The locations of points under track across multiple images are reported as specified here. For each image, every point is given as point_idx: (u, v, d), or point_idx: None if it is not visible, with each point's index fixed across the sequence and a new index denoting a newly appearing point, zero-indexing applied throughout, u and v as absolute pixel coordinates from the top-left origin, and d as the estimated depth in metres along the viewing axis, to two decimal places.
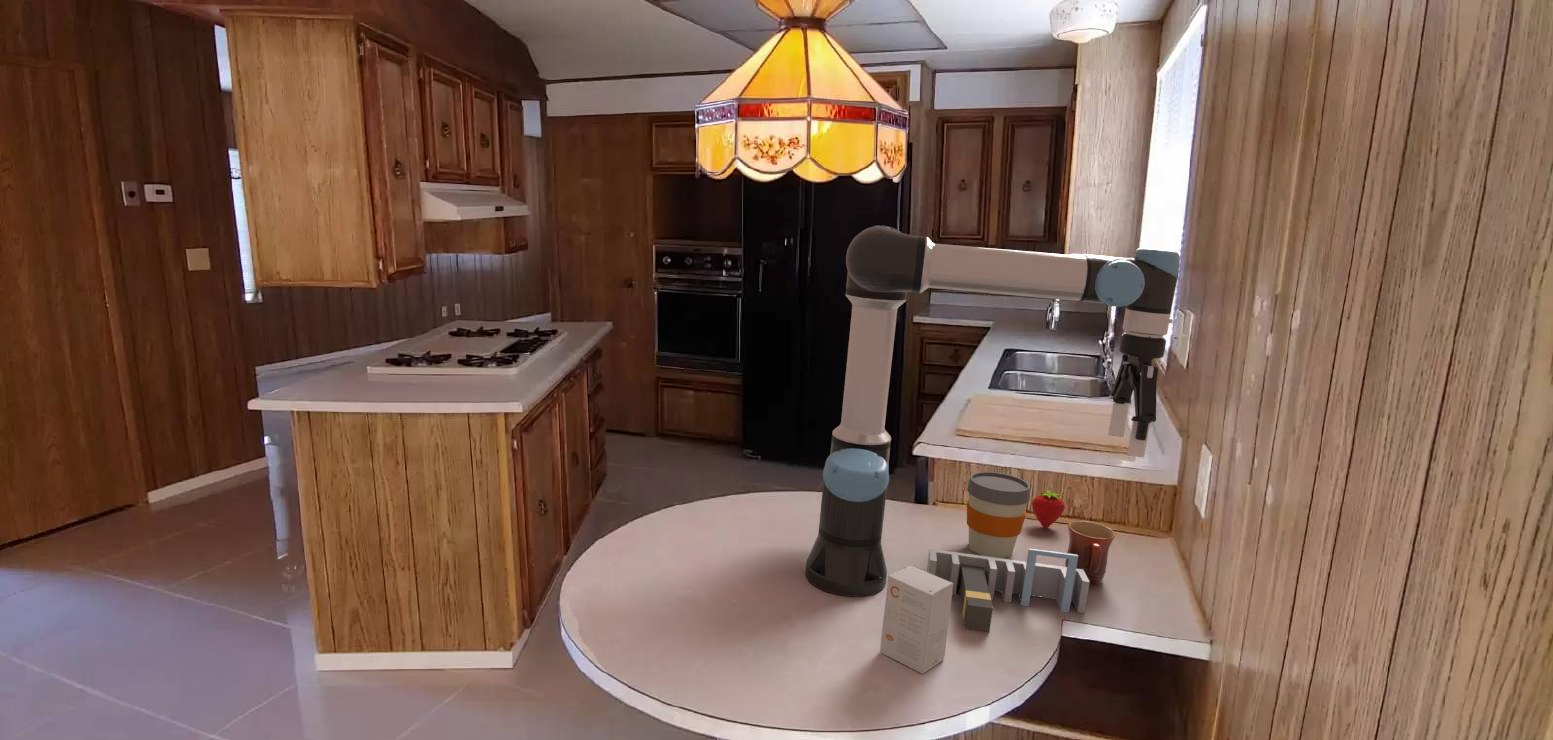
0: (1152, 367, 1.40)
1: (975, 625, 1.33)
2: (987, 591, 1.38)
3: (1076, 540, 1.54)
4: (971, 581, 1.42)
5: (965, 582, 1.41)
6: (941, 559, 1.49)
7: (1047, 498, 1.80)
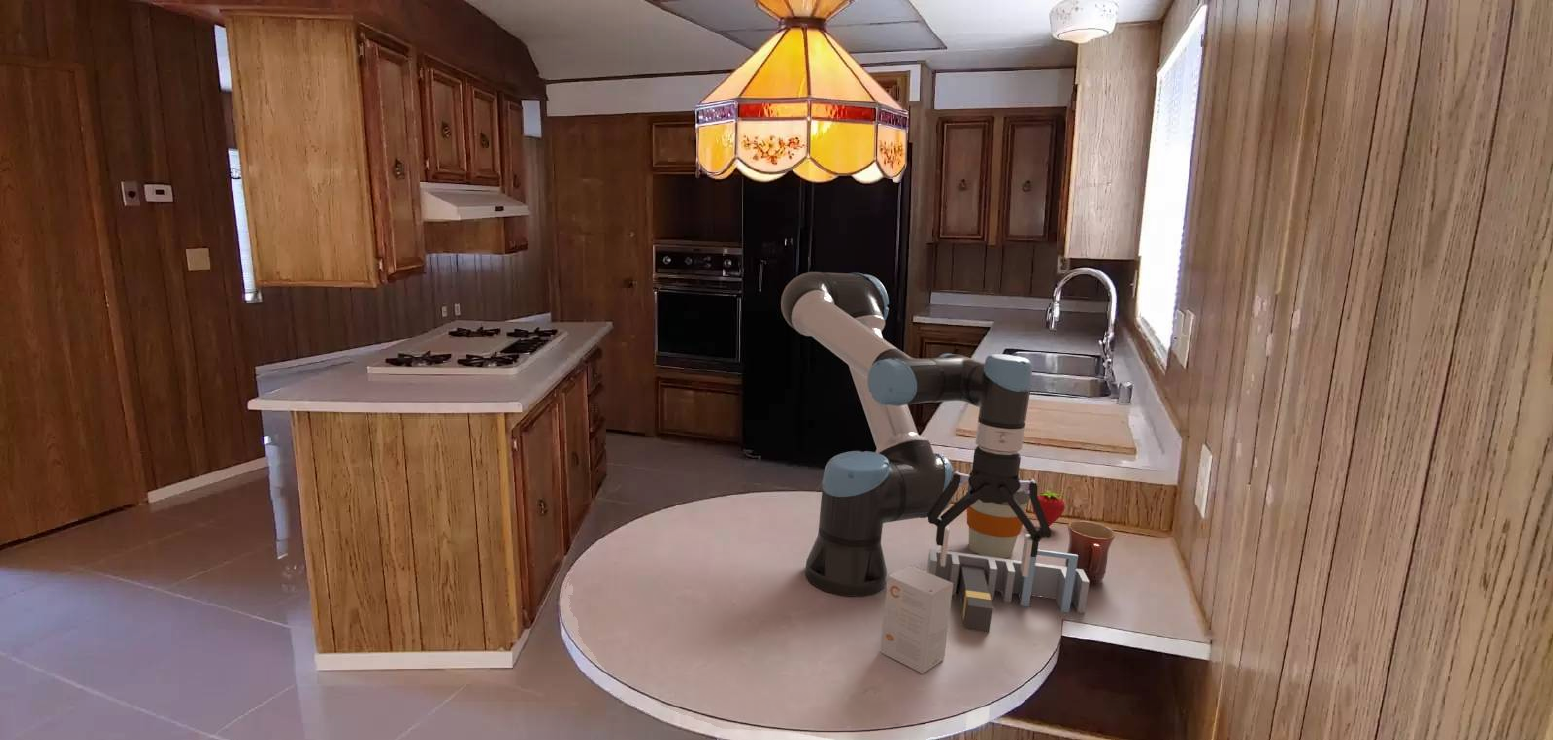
0: (954, 473, 1.34)
1: (975, 625, 1.33)
2: (987, 591, 1.38)
3: (1076, 540, 1.54)
4: (971, 581, 1.42)
5: (965, 582, 1.41)
6: None
7: (1047, 498, 1.80)
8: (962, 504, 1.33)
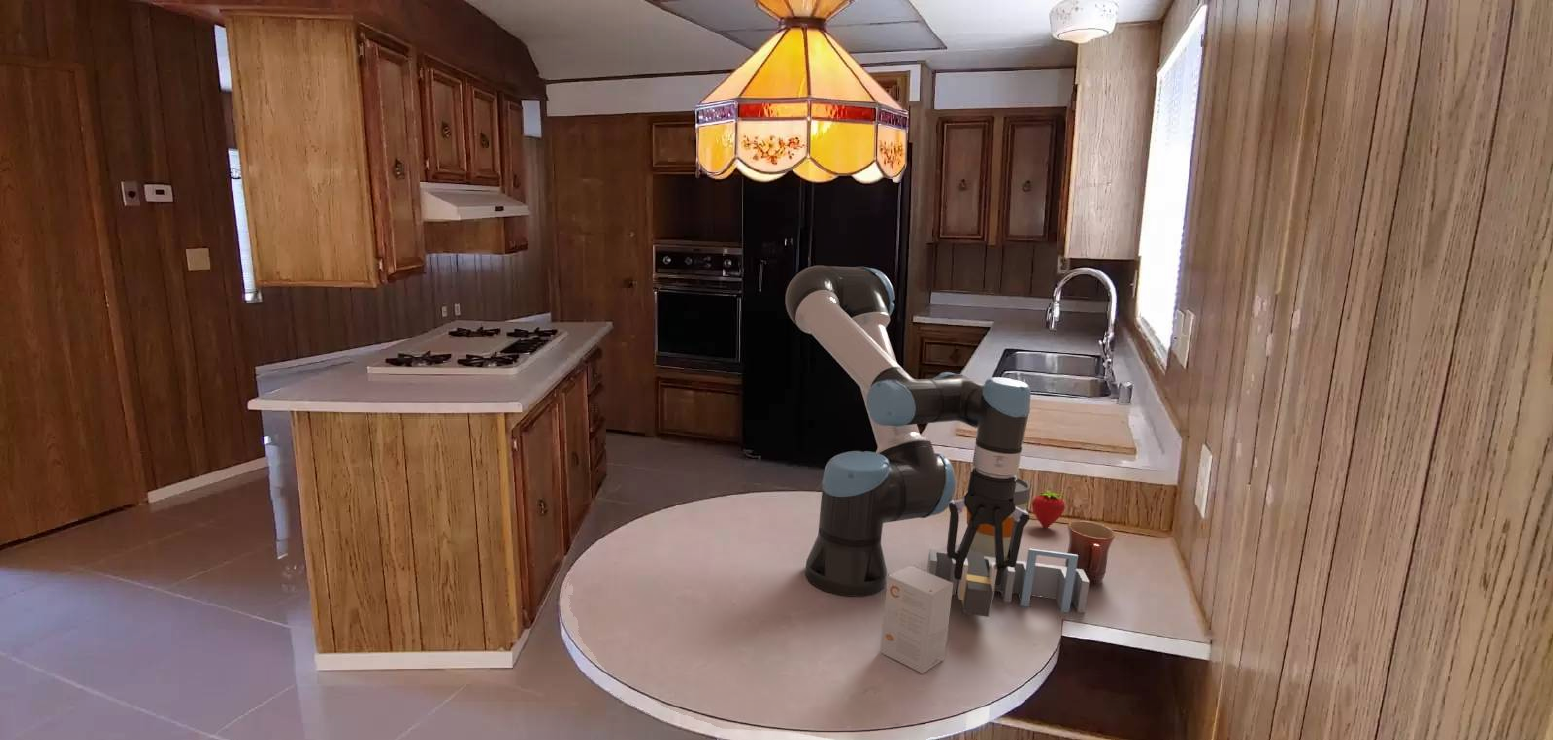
0: (949, 503, 1.35)
1: (975, 608, 1.33)
2: (987, 575, 1.38)
3: (1076, 540, 1.54)
4: (970, 565, 1.42)
5: None
6: (941, 559, 1.49)
7: (1047, 498, 1.80)
8: (969, 533, 1.35)
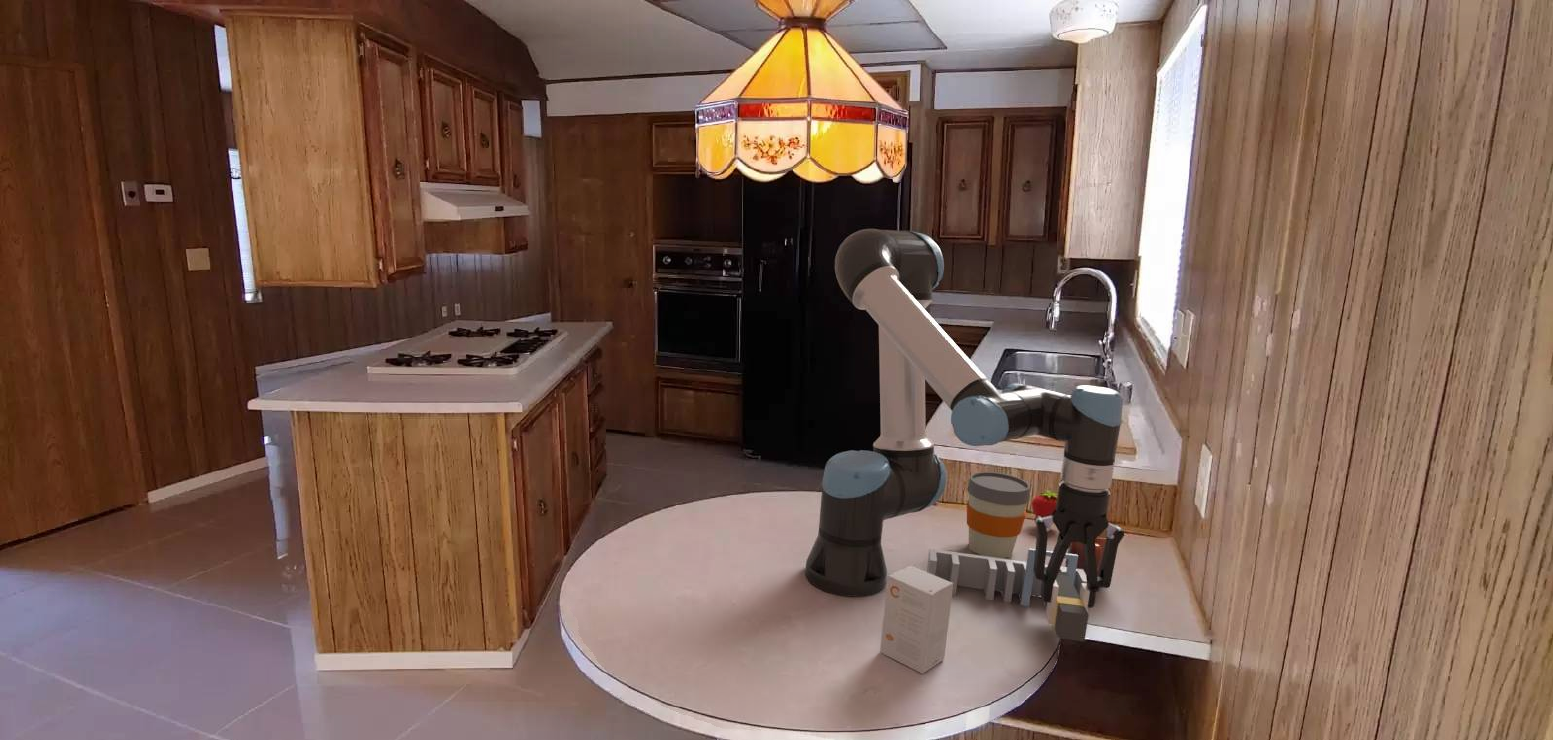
0: (1037, 521, 1.27)
1: (1069, 633, 1.24)
2: (1078, 597, 1.29)
3: None
4: None
5: None
6: (941, 559, 1.49)
7: (1047, 498, 1.80)
8: (1059, 552, 1.26)
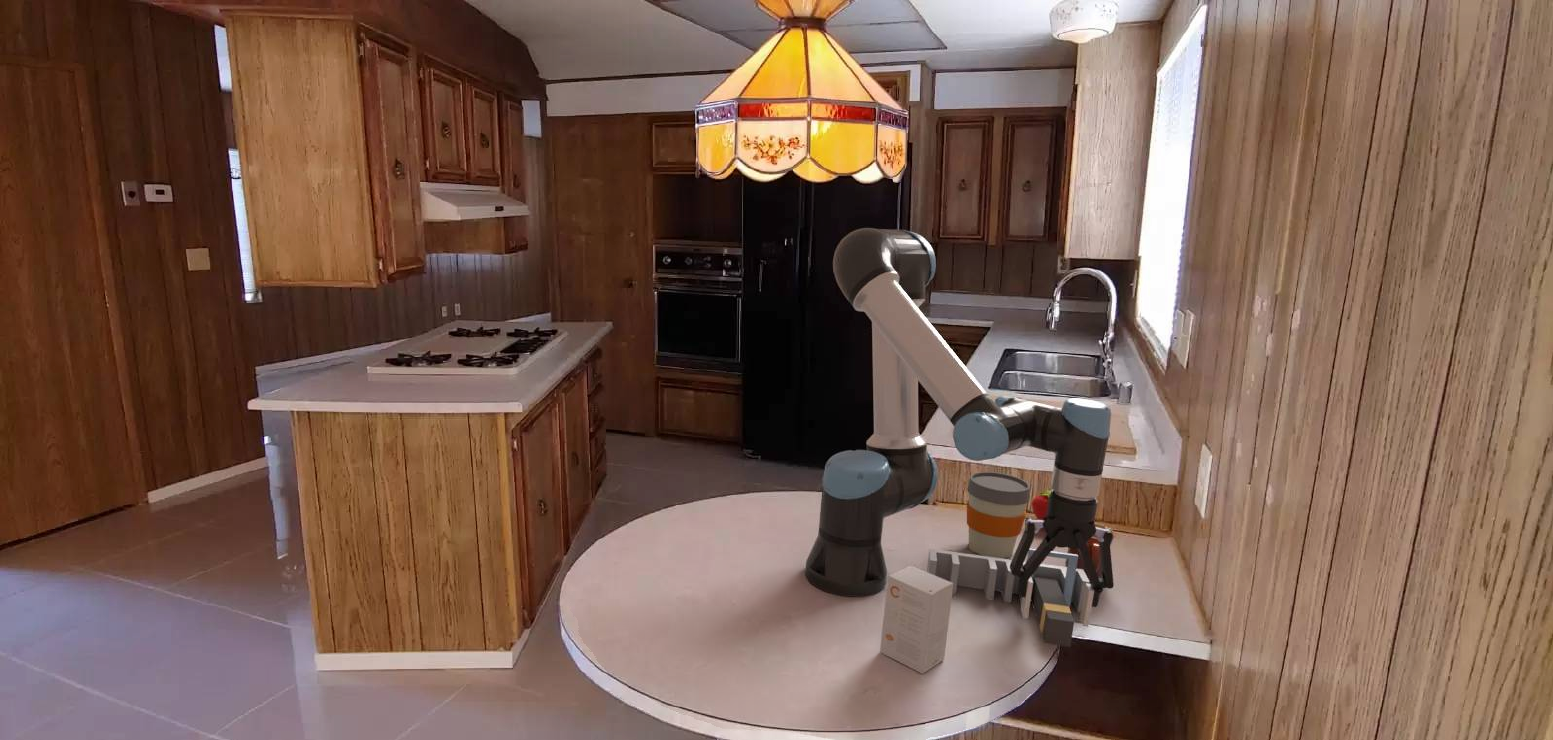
0: (1028, 521, 1.33)
1: (1056, 639, 1.31)
2: (1065, 604, 1.36)
3: None
4: (1046, 593, 1.39)
5: (1041, 594, 1.39)
6: (941, 559, 1.49)
7: (1047, 498, 1.80)
8: (1041, 553, 1.33)
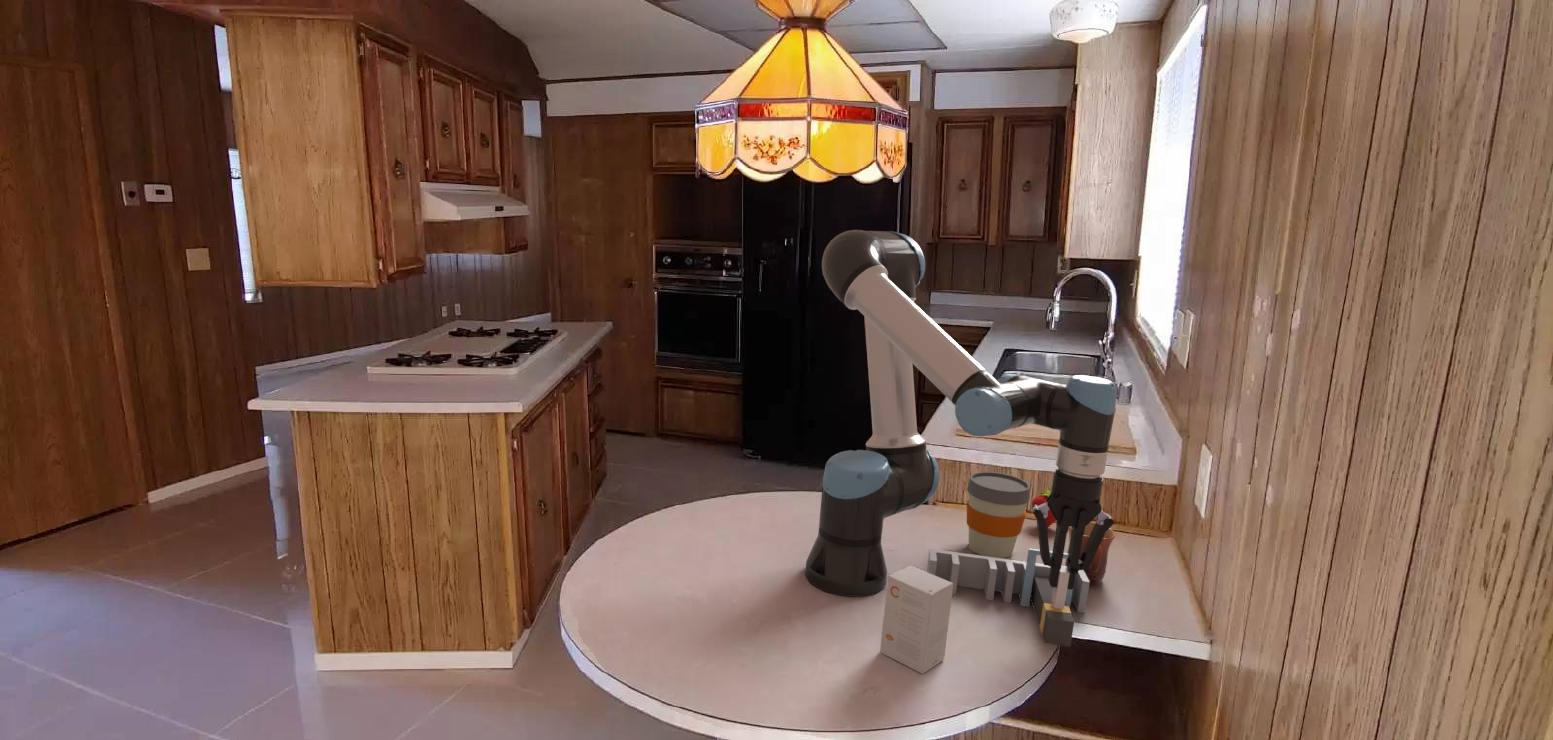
0: (1033, 510, 1.31)
1: (1056, 639, 1.31)
2: (1065, 604, 1.36)
3: None
4: (1047, 593, 1.39)
5: (1041, 594, 1.39)
6: (941, 559, 1.49)
7: None
8: (1059, 538, 1.31)
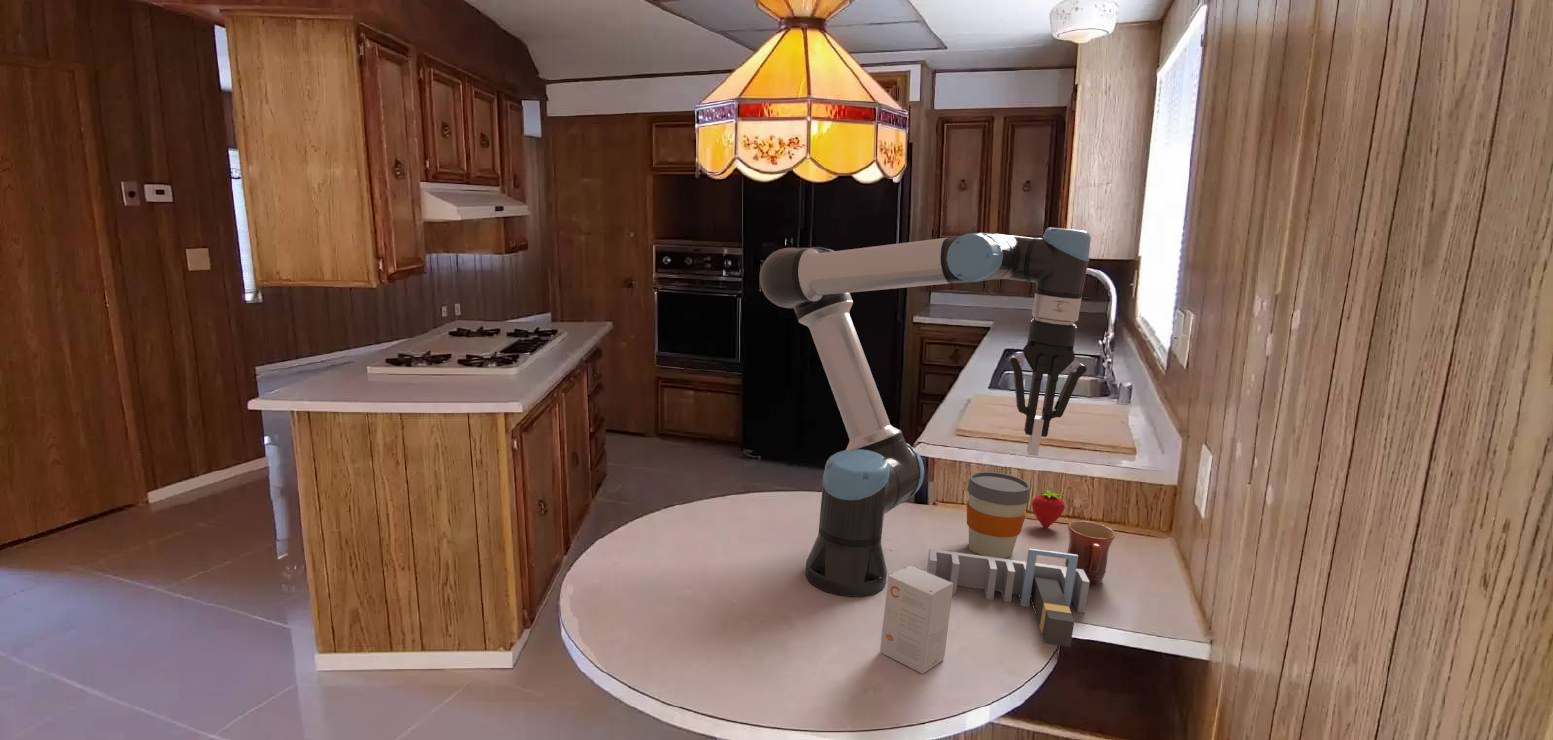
0: (1010, 359, 1.38)
1: (1056, 639, 1.31)
2: (1065, 604, 1.36)
3: (1076, 540, 1.54)
4: (1047, 593, 1.39)
5: (1041, 594, 1.39)
6: (941, 559, 1.49)
7: (1047, 498, 1.80)
8: (1034, 385, 1.37)
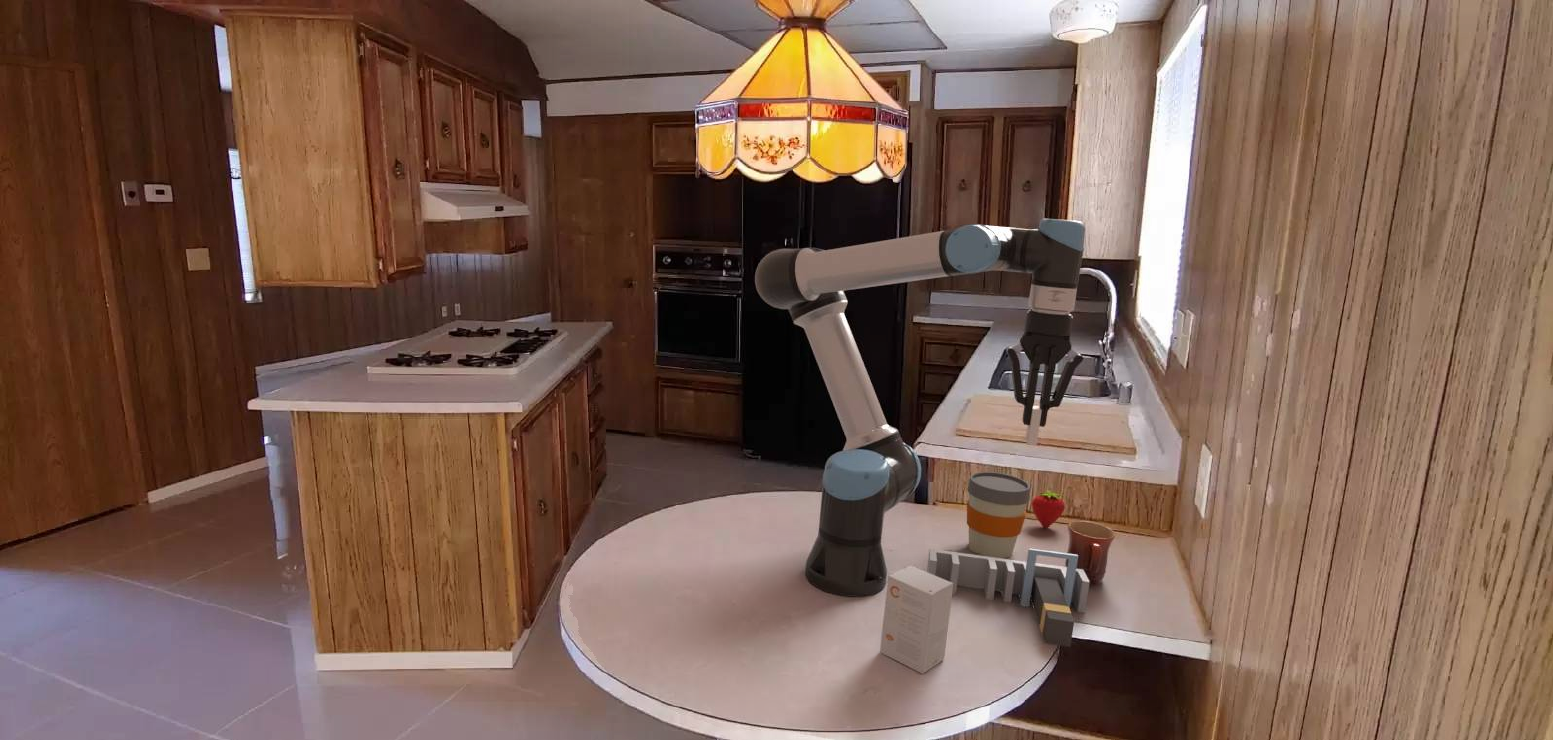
0: (1007, 349, 1.38)
1: (1056, 639, 1.31)
2: (1065, 604, 1.36)
3: (1076, 540, 1.54)
4: (1047, 593, 1.39)
5: (1041, 594, 1.39)
6: (941, 559, 1.49)
7: (1047, 498, 1.80)
8: (1031, 376, 1.38)
